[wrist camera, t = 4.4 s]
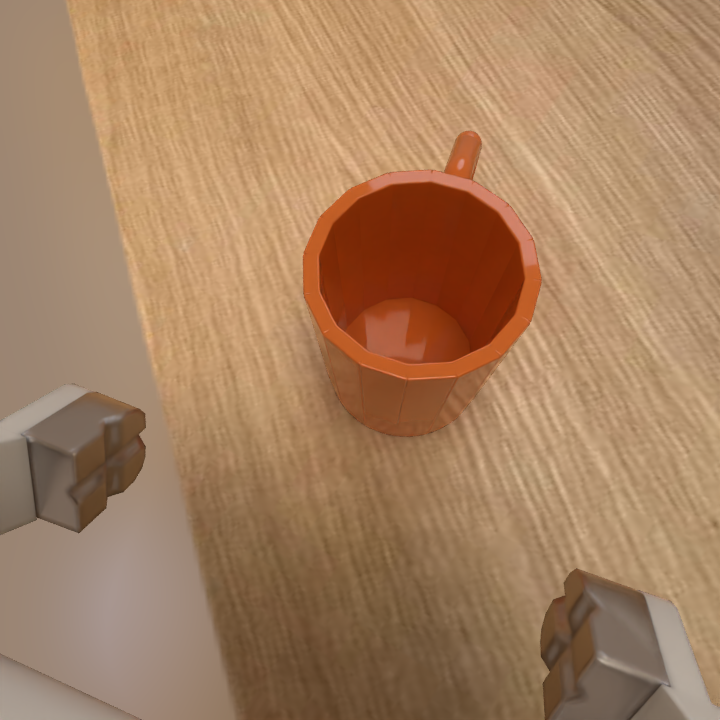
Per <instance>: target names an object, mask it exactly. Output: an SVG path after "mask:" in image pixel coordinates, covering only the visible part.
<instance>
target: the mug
mask: <svg viewBox="0 0 720 720" xmlns="http://www.w3.org/2000/svg"><path fill="white" fill-rule="evenodd" d="M481 147H482V142H481V138H480V136H479V135H478V134H477V133H476V132H474V131H465V132H462V133H461V134H460V135H459V136H458V137H457V138H456V140H455V143H454V145H453V148H452V151H451V154H450V156H449V159H448V162H447V165H446V167H445V170H444V173H443V172H440V171H436V170H416V171H401V172H390V173H386V174H383V175H381V176H379V177H376V178H374V179H371V180H369V181H367V182H364V183H362V184H359V185H357V186H355V187H352V188H351V189H349V190H348V191H346V192H345V193H344V194H343V195H342V196H341V197H340V198H339V199H338V200H337V201H336V202H335V203H334V204H333V205H332V206H331V207H329V208H328V209H327V210H326V211H325V212H324V213H323V214H322V215H321V216H320V218H319V219H318V221H317V224H316V226H315V228H314V230H313V233H312V235H311V237H310V239H309V242H308V244H307V246H306V248H305V251H304V255H303V294H304V298H305V301H306V305H307V308H308V311H309V314H310V318H311V321H312V324H313V327H314V330H315V334H316V337H317V340H318V343H319V347H320V350H321V353H322V356H323V360H324V363H325V366H326V369H327V373H328V376H329V379H330V381H331V383H332V385H333V387H334V390H335V392H336V395H337V396H338V398H339V400H340V402H341V403H342V405H343V406H344V407H345V408H346V410H347V411H348V412H349V413H350V414H351V415H352V416H353V417H354V418H356V419H357V420H358V421H359V422H361V423H362V424H364V425H366V426H367V427H369V428H371V429H373V430H376V431H378V432H380V433H384V434H388V435H393V436H400V437H412V436H420V435H424V434H428V433H432V432H434V431H436V430H439V429H441V428H443V427H445V426H446V425H448V424H450V423H451V422H452V421H454V420H455V419H457V418H458V417H459V415H460V414H461V413H462V412H463V411H464V410H465V409H466V407H467V406H468V405H469V404H470V403H471V401H472V400H473V399H474V398H475V397H476V395H477V394H478V393H479V391H480V390H481V389H482V387H483V386H484V385H485V383H486V382H487V381H488V379H489V378H490V377H491V375H492V374H493V373H494V371H495V370H496V369H497V367H498V366H499V365H500V363H501V362H502V361H503V359H504V358H505V357H506V355H507V354H508V353H509V351H510V350H511V349H512V347H513V346H514V345H515V343H516V342H517V341H518V339H519V338H520V337H521V335H522V334H523V333H524V331H525V330H526V329H527V327H528V326H529V325H530V322H531V321H532V317H533V313H534V309H535V306H536V302H537V298H538V294H539V291H540V287H541V280H542V279H541V274H540V269H539V263H538V258H537V253H536V248H535V243H534V240H533V238H532V236H531V235H530V233H529V232H528V230H527V229H526V227H525V226H524V225H523V223H522V222H521V220H520V219H519V217H518V216H517V214H516V213H515V212H514V210H513V209H512V207H511V206H509V204H508V203H506V202H505V201H504V200H502V199H501V198H499V197H498V196H496V195H495V194H493V193H492V192H490V191H489V190H487V189H486V188H484V187H483V186H481V185H480V184H478V183H477V182H475V181H474V182H473V176H474V173H475V169H476V165H477V162H478V158H479V154H480V151H481Z"/></svg>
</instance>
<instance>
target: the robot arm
mask: <svg viewBox="0 0 720 720" xmlns="http://www.w3.org/2000/svg"><path fill="white" fill-rule="evenodd" d="M145 428H146V421H145V413H144V412H143V411H141V410H140V409H138V408H136V407H133V406H131V405H128V404H126V403H123V402H121V401H118V400H116V399H113V398H110V397H108V396H105V395H103V394H101V393H98V392H93V391H91V390H89V389H86V388H84V387H81V386H79V385H76V384H64V385H62V386H61V387H59V388H57V389H55V390H54V391H52V392H50V393H48V394H47V395H45V396H43V397H41V398H39V399H38V400H36V401H34V402H32V403H30V404H29V405H27V406H25V407H23V408H22V409H20V410H18V411H16V412H14V413H13V414H11V415H9V416H7V417H6V418H4V419H2V420H0V535H1V534H4V533H6V532H9V531H11V530H14V529H16V528H19V527H21V526H23V525H26V524H28V523H31V522H33V521H36V520H37V518H40V519H43V520H45V521H48V522H50V523H53V524H56V525H59V526H61V527H64V528H66V529H69V530H72V531H75V532H77V533H80V532H81V531H82V530H83V529H84V528H85V527H86V526H87V525H88V524H89V523H91V522H92V521H93V520H94V519H95V518H96V517H97V516H98V515H99V514H100V513H101V512H102V511H104V510H105V509H106V506H107V497H109V496H112V495H115V494H119V493H122V492H124V491H125V490H126V489H127V488H128V487H129V486H130V485H131V484H132V483H133V482H134V481H135V479H136V477H137V476H138V474H139V472H140V471H141V469H142V466H143V463H144V459H145V449H146V446H145V445H144V443H143V441H142V440H141V438H140V436H139V433H141V432H142V431H143V430H144V429H145ZM564 590H565V596H562V597H559V598H557V599H554V600H553V601H552V603H551V604H550V606H549V608H548V610H547V612H546V614H545V618H544V621H543V625H542V628H541V640H540V647H541V658H542V659H543V661H544V662H545V664H546V666H547V667H548V669H549V671H550V673H549V674H548V676H547V677H546V679H545V680H544V682H543V697H544V711H545V720H720V707H718V706H716V705H714V704H712V703H711V700H710V698H709V695H708V692H707V689H706V687H705V684H704V681H703V678H702V675H701V673H700V670H699V667H698V664H697V662H696V659H695V656H694V653H693V651H692V648H691V645H690V642H689V639H688V637H687V634H686V631H685V628H684V626H683V623H682V620H681V617H680V614H679V612H678V609H677V607H676V606H675V605H674V604H673V603H672V602H671V601H669V600H666V599H663V598H660V597H657V596H654V595H652V594H649V593H646V592H643V591H640V590H635V589H633V588H630V587H627V586H625V585H622V584H619V583H616V582H613V581H611V580H608V579H605V578H602V577H599V576H597V575H594V574H591V573H588V572H585V571H583V570H580V569H577V568H576V569H575V570H573V571H572V572H570V574H569V575H568V577H567V578H566V580H565V581H564ZM0 720H141V719H139V718H137V717H135V716H133V715H131V714H129V713H126V712H124V711H122V710H120V709H118V708H116V707H113V706H111V705H109V704H107V703H105V702H103V701H100V700H98V699H96V698H94V697H92V696H90V695H88V694H86V693H83V692H81V691H79V690H77V689H75V688H73V687H71V686H68V685H66V684H64V683H61V682H60V681H57V680H55V679H53V678H51V677H49V676H47V675H45V674H42V673H40V672H38V671H36V670H34V669H32V668H29V667H27V666H25V665H23V664H21V663H19V662H17V661H15V660H12V659H10V658H8V657H6V656H4V655H2V654H0Z"/></svg>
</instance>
